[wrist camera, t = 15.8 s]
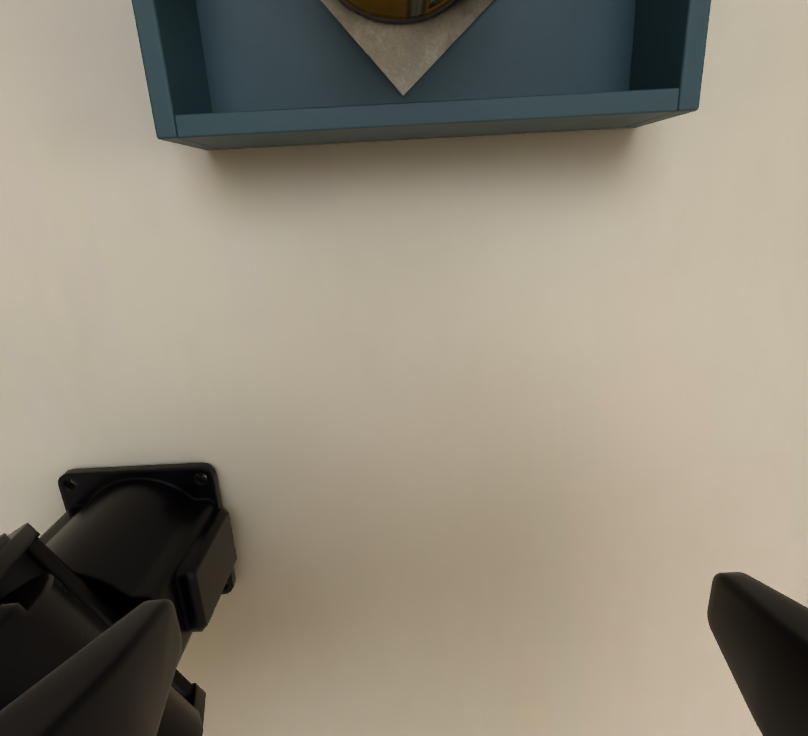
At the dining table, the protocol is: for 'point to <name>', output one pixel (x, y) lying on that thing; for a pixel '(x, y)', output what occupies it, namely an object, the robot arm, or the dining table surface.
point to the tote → (437, 88)
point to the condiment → (405, 31)
